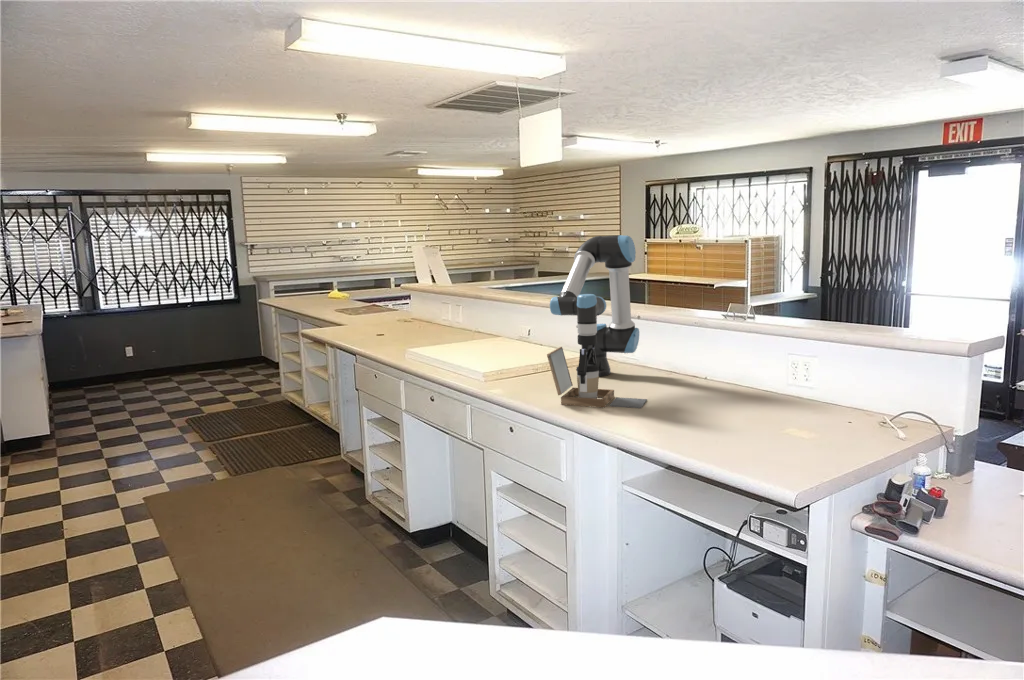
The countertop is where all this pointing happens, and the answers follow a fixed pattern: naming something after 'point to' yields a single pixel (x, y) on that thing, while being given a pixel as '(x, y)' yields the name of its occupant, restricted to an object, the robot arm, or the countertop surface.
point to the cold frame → (575, 401)
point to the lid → (559, 370)
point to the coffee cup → (590, 381)
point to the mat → (628, 402)
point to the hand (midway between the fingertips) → (587, 388)
